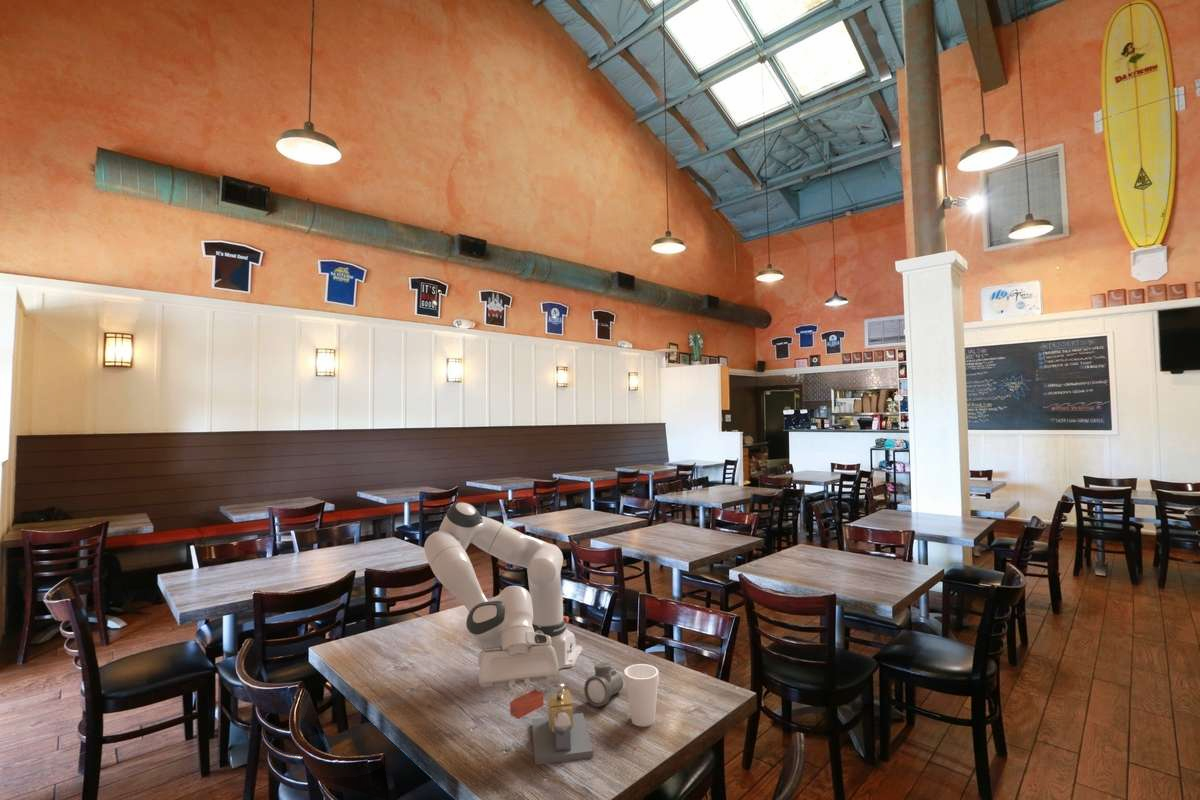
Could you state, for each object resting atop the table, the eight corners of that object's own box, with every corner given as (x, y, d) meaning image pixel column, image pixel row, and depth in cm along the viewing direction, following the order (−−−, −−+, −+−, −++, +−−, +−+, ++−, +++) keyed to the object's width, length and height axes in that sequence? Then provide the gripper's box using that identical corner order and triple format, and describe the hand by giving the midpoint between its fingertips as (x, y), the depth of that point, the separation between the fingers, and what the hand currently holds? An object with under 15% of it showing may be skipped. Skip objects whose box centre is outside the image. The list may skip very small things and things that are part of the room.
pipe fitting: (606, 710, 152) (605, 670, 154) (583, 705, 157) (582, 667, 159) (628, 697, 162) (627, 660, 164) (606, 692, 166) (605, 657, 168)
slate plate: (583, 718, 149) (583, 712, 149) (592, 757, 131) (592, 750, 131) (532, 724, 147) (532, 718, 147) (535, 764, 129) (534, 758, 129)
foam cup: (632, 732, 141) (630, 681, 142) (621, 714, 150) (619, 667, 151) (665, 725, 144) (663, 675, 145) (652, 708, 153) (651, 661, 154)
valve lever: (559, 688, 142) (559, 677, 142) (567, 692, 140) (567, 680, 140) (510, 714, 129) (510, 702, 130) (518, 719, 127) (518, 705, 128)
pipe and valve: (568, 716, 147) (567, 674, 148) (575, 750, 132) (574, 703, 132) (547, 719, 146) (546, 677, 147) (551, 753, 131) (550, 706, 131)
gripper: (477, 643, 140) (476, 700, 130) (556, 635, 143) (561, 690, 133) (479, 654, 144) (477, 710, 134) (555, 646, 147) (559, 700, 137)
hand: (520, 700), depth 134 cm, fingers closed
